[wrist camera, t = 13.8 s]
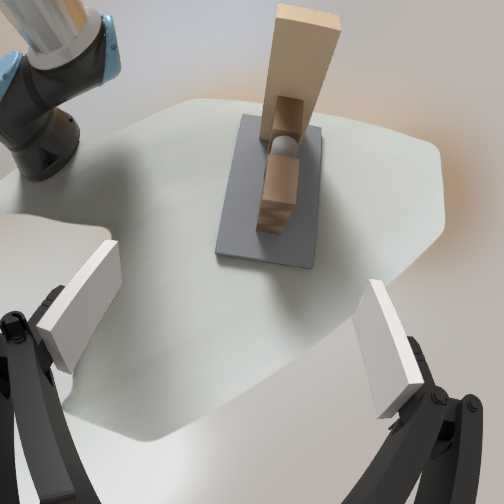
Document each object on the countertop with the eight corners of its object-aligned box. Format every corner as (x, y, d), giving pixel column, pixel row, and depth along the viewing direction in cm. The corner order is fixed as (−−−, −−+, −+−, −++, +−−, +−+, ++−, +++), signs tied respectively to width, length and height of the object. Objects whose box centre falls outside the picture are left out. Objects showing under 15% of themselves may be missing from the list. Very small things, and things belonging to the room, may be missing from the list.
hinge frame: (215, 254, 42) (193, 161, 18) (242, 118, 49) (249, -3, 24) (311, 268, 43) (397, 198, 18) (319, 131, 49) (365, 20, 25)
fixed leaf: (261, 193, 44) (269, 153, 33) (269, 140, 46) (277, 95, 36) (284, 197, 44) (299, 159, 33) (290, 143, 46) (303, 100, 36)
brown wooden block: (255, 230, 42) (262, 199, 32) (263, 175, 45) (272, 133, 34) (280, 234, 42) (295, 204, 32) (286, 179, 45) (301, 138, 34)
